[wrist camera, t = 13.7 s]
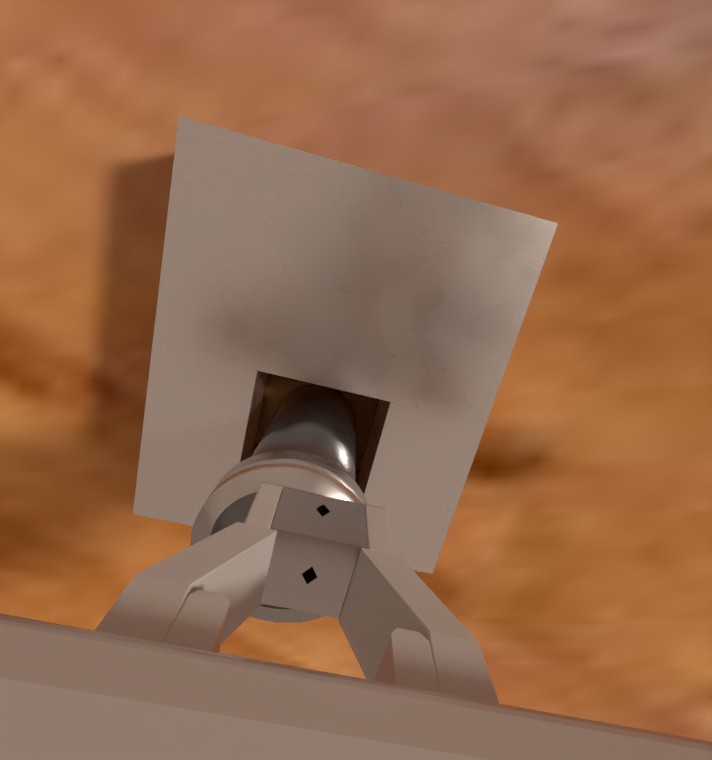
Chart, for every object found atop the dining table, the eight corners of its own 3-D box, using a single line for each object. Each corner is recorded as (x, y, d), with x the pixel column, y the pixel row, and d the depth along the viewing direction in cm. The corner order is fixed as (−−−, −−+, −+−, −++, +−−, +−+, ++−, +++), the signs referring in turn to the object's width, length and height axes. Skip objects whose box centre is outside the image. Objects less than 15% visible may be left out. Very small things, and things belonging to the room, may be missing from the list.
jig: (210, 145, 16) (178, 116, 13) (522, 232, 17) (557, 223, 14) (164, 479, 20) (132, 513, 17) (420, 533, 21) (432, 573, 18)
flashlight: (276, 364, 18) (203, 453, 10) (377, 388, 19) (394, 495, 10) (258, 455, 20) (180, 604, 11) (352, 476, 20) (348, 636, 11)
